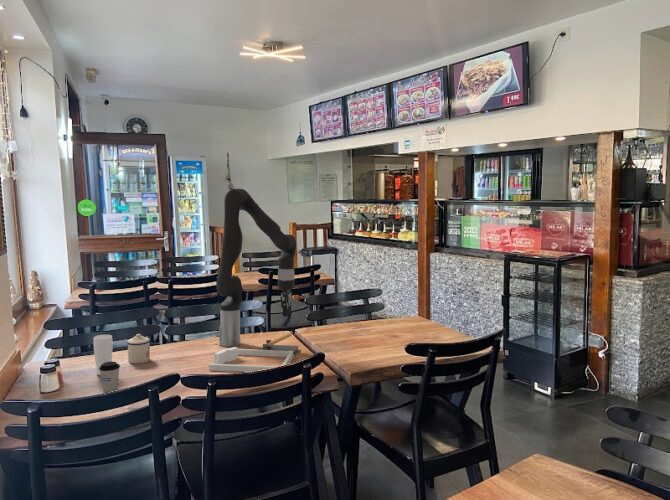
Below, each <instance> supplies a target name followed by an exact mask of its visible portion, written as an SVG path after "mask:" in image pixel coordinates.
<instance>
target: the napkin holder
mask: <svg viewBox="0 0 670 500" xmlns="http://www.w3.org/2000/svg"><path fill="white" fill-rule="evenodd" d="M229 348H230V349H226V348H224V349H221V350H220V351H217V352H215V353H213V356H214V357H213V359H214V360H213V364H227V363H228V362H233V361H235V360H238V359H239V355H238V349H239V348H238V347H236V346H231V347H229Z"/></svg>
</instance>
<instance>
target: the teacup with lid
mask: <svg viewBox="0 0 670 500" xmlns="http://www.w3.org/2000/svg"><path fill="white" fill-rule="evenodd" d="M150 342H151V340H150V338H149V337H145V336H143V335H142V334H141V333H136V335H135V336H133V337H132V338H130V339H128V340H127V357H128V358H127V360H128V363H129V364H134V365H137V364H144V363H147V362H149V361H150V360H151V359H150V357H151V356H150V355H151V354H150Z"/></svg>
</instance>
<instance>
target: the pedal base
mask: <svg viewBox="0 0 670 500" xmlns="http://www.w3.org/2000/svg"><path fill="white" fill-rule="evenodd" d="M271 341H272V340H271V339H266V341H265V342H266V343H263V344H262V347H261V349H260V350H279V351H293V356H294V355H295V356H296V353H297V352H298V350H299V345H288V344H287V345H286V344H285V345H283V344H273V345H271V346H269V347H268V344H267V343H269V342H271Z"/></svg>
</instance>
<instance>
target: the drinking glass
mask: <svg viewBox="0 0 670 500" xmlns="http://www.w3.org/2000/svg"><path fill="white" fill-rule="evenodd" d="M113 344H114V343H113V335H111V334H100V335H98V334H97V335H96V336H94V337H93V353H94V360H95V367H96V374H97V375H98V376H101V374H100V370H99V367H100V366H101V365H102V364H103V363H105V362H112V361H113V360H112V359H113Z"/></svg>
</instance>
